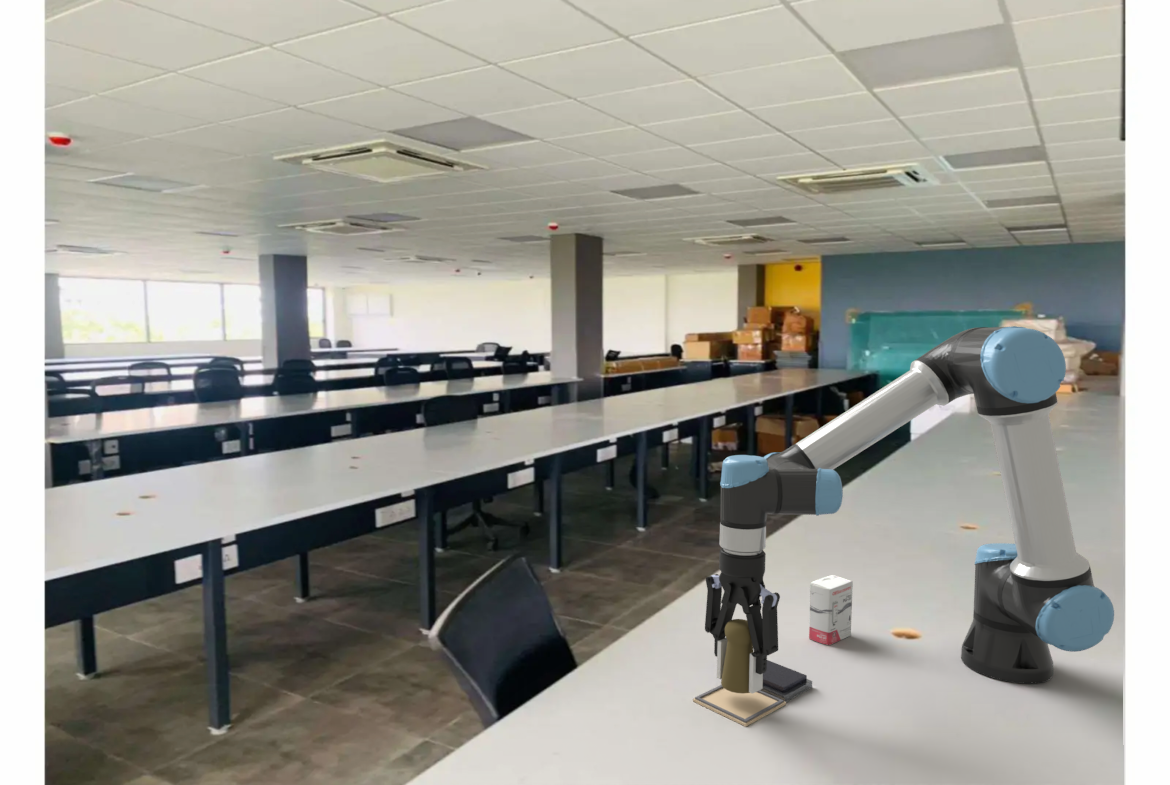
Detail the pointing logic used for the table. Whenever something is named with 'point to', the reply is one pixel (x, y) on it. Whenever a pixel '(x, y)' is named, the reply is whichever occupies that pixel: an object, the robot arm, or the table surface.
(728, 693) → the print card
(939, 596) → the table surface
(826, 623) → the ink box
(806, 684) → the ink pad
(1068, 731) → the table surface
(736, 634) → the olive chess pawn
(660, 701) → the table surface
